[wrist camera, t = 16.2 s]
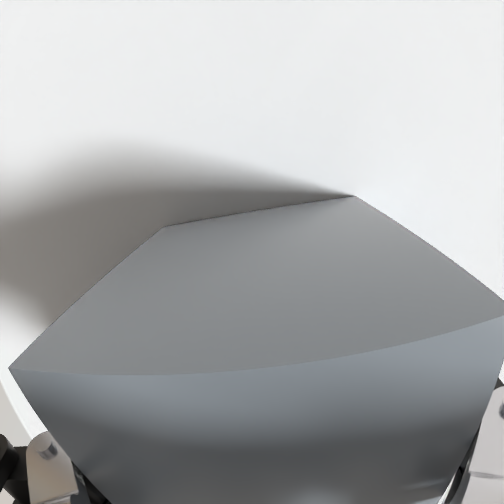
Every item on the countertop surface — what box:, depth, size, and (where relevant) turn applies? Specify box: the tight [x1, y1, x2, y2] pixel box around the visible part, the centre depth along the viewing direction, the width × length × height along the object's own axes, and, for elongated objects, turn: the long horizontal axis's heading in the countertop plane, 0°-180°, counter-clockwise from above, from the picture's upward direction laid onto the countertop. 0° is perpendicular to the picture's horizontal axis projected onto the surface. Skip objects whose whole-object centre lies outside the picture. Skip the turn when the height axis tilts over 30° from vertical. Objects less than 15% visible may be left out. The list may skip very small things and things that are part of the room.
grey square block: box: [8, 196, 504, 504], centre depth 9 cm, size 7×7×9 cm
